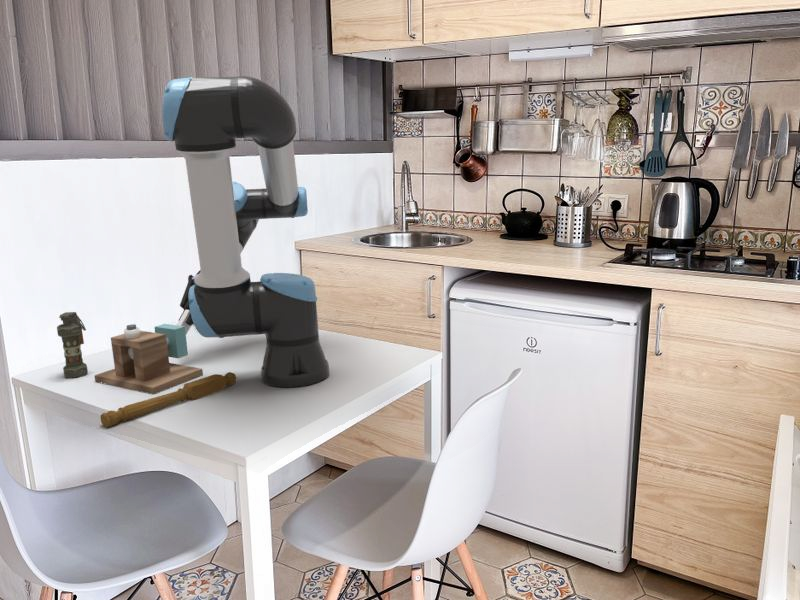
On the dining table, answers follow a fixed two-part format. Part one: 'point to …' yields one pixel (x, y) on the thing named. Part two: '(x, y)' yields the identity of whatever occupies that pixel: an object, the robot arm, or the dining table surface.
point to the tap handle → (170, 398)
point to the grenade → (72, 344)
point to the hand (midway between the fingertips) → (178, 335)
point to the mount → (145, 365)
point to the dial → (132, 332)
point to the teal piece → (171, 340)
